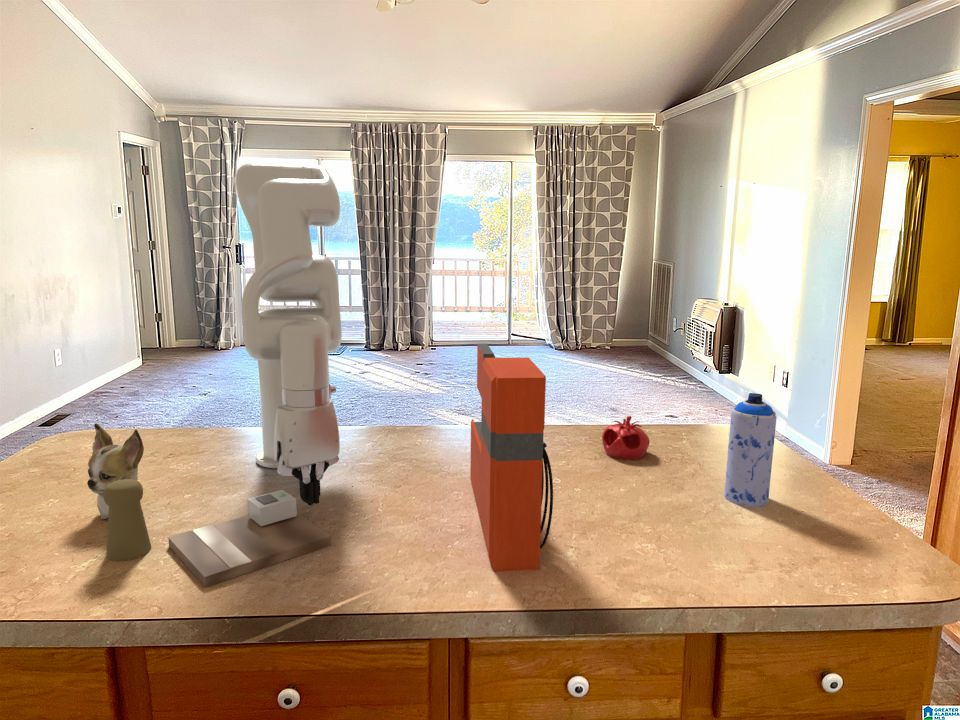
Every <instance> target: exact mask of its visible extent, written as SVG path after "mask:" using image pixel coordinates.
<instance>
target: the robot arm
mask: <svg viewBox="0 0 960 720" xmlns="http://www.w3.org/2000/svg"><path fill="white" fill-rule="evenodd" d="M235 185H236V186H235V187H236V193H237V197H238V201H239V205H240V208H241V210H242V212H243V215H244V217H245V219H246V221H247V223H248V224H247V225H248V226H249V229H250V232H251V236H252V244H253V256H254V268H255V269H254V272H253V273H252V275H251V276H250V278H249V279H248V281H247V283H246V285H245V287H244V291H243V292H242V293H243V294H242V297H241V320H242V332H243V341H244V347H245V350H246V352H247V354H248V355H249V356H250V357H251V358H252V359H254V360H256V361H257V366H258V367H257V368H258V376H259V377H258V378H259V379H258V380H259V393H260V412H261V430H262V432H261V433H262V445H263V446H262V447H263V448H262V450H260V451H259V452H258V453H257V454H256V456H255V461H256V464H258V466H261V467H264V468H267V469H277V474H279V475H280V476H283V477H294V478H295V479H297V480H298V483H299V484H298V485H299V497H300V500H301V501H302V502H304V503H306V504H307V505H308V506H313V505H314V504H319V503H320V496H321V480H323V479H324V474H325V472H326V471H327V470H328V468H329V467H332V466H333V465H335V464H338V463H339V461H340V457H339V455H340V451H341V449H340V447H341V445H340V443H341V442H340V432H339V422H338V418H337V413H336V409H335V405H334V402H333V401H332V400H331V397H332V396H331V395H332V394H335V393H337V388H336V386H335V385H334V384H333V385H331V384H330V369H329V367H330V365H329V353H334V352H336V351H338V350H339V348H340V346H341V343H342V336H343V335H342V318H341V309H340V297H339V283H338V275H337V269H336V267H335V265H334V262H333V261H332V260H331V259H330V258H329V257H328V256H325V255H320V254H314V253H313V246H312V241H311V233H310V227H332V226H334V225H336V224H337V223H338V221H339V219H340V214H341V204H340V203H341V202H340V197H339V192H338V189H337V186H336V184H335V183H334V180H333V179H332V177H331V176H330V174H329V172H328V171H327V169H326V168H324V167H323V166H321V165H319V164H318V165H317V164H312V163H311V164H310V163H309V164H308V163H291V162H290V163H289V162H276V161H275V162H273V161H257V162H255V161H254V162H249V163H246V164H242V165H241V166H239V168H238V169H237V171H236V173H235ZM260 298H262V299H263V300H264V301H267V302H273V303H296V302H297V303H299V302H300V303H301V302H312V303H314V304H315V306H316V307H299V308H298V307H291V308H289V307H288V308H272V309H266V310H262V311H259V301H260Z"/></svg>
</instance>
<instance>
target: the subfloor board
mask: <svg viewBox="0 0 960 720" xmlns="http://www.w3.org/2000/svg"><path fill="white" fill-rule="evenodd" d="M331 538H332V537H331V535H330V534H329V533H327V532H326V531H324V530H322V529H321V528H320V527H318V525H317V526H316V525H315V524H314V523H312V522H311V521H310V520H309V519H307V518H305V517H304V516H302V515H301V514H300V513H298V512H297V516H295V517H291V518H288V519H285V520H281V521H278V522H274V523H271V524H267V525H264V526H260V525H259V524H258V523H256V522H255V521H254V520H253V519H251V518H250V517H249V516H248V514H247V515H244V516H241V517H237V518H233V519H228V520H226V521H222V522H218V523H216V524H215V523H214V524H208V525H205V526H201V527H198V528H194V529H191V531H185V532H182V533H180V534H175V535H172V536H168V537H167V539H168V547H169V548H170V550H172V551H173V553H174V554H175V555H176V556H177V557H178V558H179V559H180V560H181V562H182V563H183V564H185V566H186V568H188V569H189V570H190V572H192V574H193V575H194V576H195V577H196V579H198V580H199V582H200V583H201V584H202V585H203V587H205V588H207V587H209V586H212V585H216V584H219V583H222V582H224V581H228V580H231V579H234V578H236V577H240V576H242V575H245V574H250V573H252V572H254V571H258V570H260V569H264V568H266V567H270V566H272V565H275V564H279V563H281V562H284V561H287V560H290V559H293V558H296V557H300V556H302V555H305V554H308V553H311V552H314V551H316V550H320V549H323V548H327V547H329V546H331V545H332V541H331V540H332V539H331Z"/></svg>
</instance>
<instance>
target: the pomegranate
mask: <svg viewBox="0 0 960 720" xmlns="http://www.w3.org/2000/svg"><path fill="white" fill-rule="evenodd" d="M632 419H633V416H631V415H626V418H623V419H622V421H623V422H620V421H619V420H614V421H612V423H615V424H610V425H608V426H606V427H605V428H604V429H603V432H602V434H601V441H602V446H603V449H604V451H605V453H606V455H607V456H609V457H611V458H615V459H619V460H620V459H621V460H639V459H642V458H643V456H644V455H645V454H646V453H647V450H648V449H649V447H650V438H649V436H648V434H647V433H646V432H645V431H644V430H643V429H641V428H642V427H643V425H640V424H638V423H640V421H639V420H638V421H633V422H632V423H631V420H632Z"/></svg>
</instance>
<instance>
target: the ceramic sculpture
mask: <svg viewBox="0 0 960 720" xmlns="http://www.w3.org/2000/svg"><path fill="white" fill-rule="evenodd" d="M93 425H94V430H95V432H96V433H95V436H94V442H93V444H92V455H91V456H90V458H89V460H88V463H87V467H88V469H87V473H88V476H89V479H88V480H87V487H88V489H90V491H91V492H93V493H94V494H97V498H96V503H97V504H96V505H97V509H98V513H99V514H100V519H101V520H106V519H108V516H109V506H108V505H107V504H106V503H105V501H104V497H103V494H104V490H105V488H106V486H107V485H109V484H110V483H112V482H115V481H118V480H123V479H133V480H137V481H139V479H138V478H139V476H138V473H139V472H138V470H139V469H138V468H139V463H141V460H142V458H143V455H144V451H145V450H144V449H145V446H144V443H143V439H142V437H141V435H140V432H139V430H137V429H134V431H133V432H132V434H131V435H130V436H129V438H128V437H127V439H126V440H125V441H124V442H123V444H114V443H113V439H112V438H113V437H111V435H110V434H109V433H108V432H107V431H106V429H104V428H103V427H102V426H101V425H100V424H99V423H96V422H95V423H94V424H93Z"/></svg>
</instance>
